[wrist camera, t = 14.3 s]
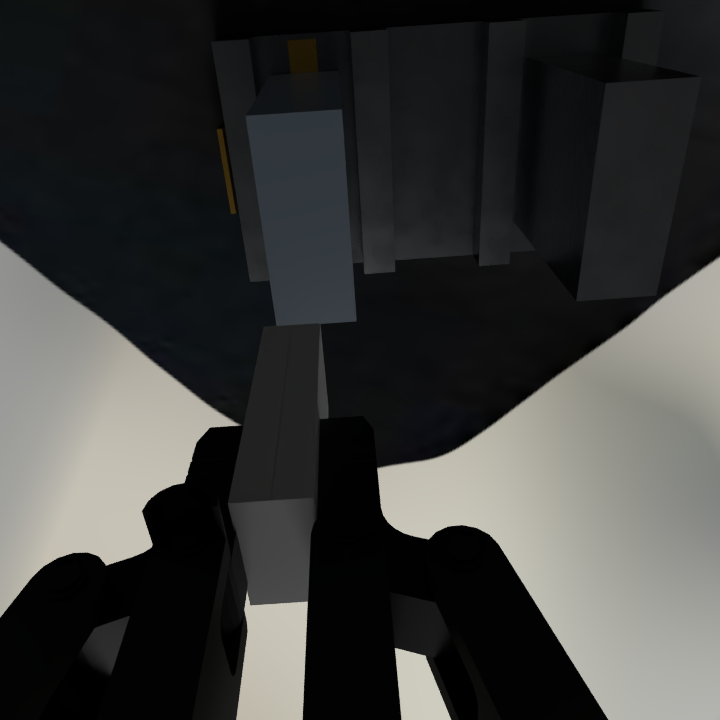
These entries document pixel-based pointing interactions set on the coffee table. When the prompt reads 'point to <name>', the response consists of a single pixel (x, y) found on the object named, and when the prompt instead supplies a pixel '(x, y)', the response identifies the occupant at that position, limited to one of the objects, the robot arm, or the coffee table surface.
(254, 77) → the rack
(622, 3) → the coffee table surface
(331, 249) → the gray rectangular block
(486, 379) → the coffee table surface
